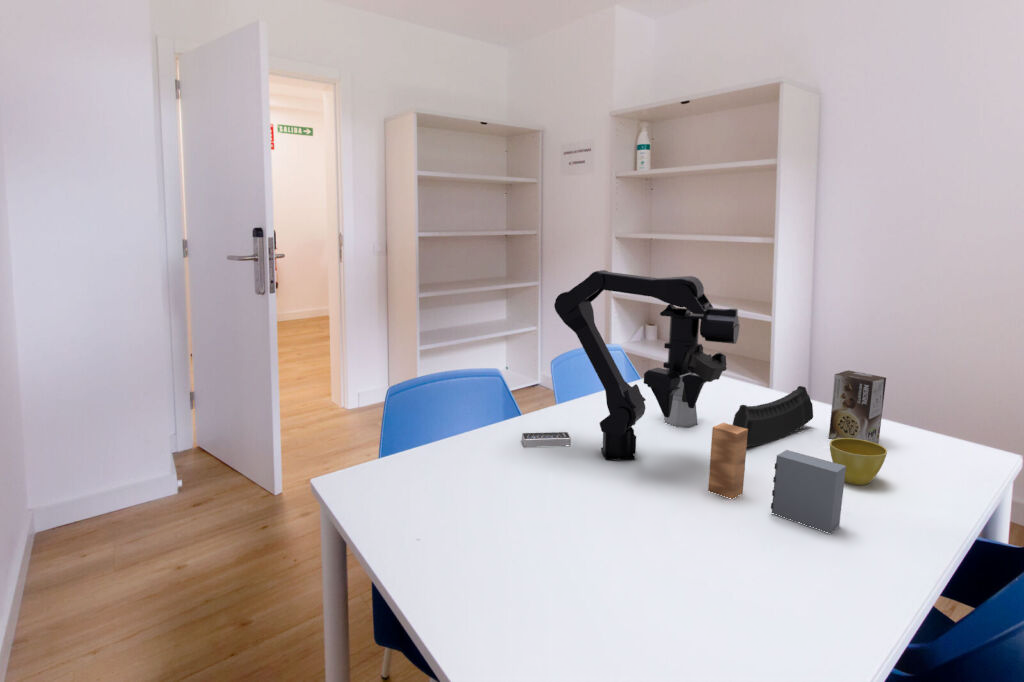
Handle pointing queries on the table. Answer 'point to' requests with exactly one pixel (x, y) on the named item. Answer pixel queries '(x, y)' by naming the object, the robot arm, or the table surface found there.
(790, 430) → the magazine
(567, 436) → the multiport hub
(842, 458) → the yellow bowl
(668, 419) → the coffee maker
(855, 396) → the coffee box
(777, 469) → the grey flat block
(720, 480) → the wooden post
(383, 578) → the table surface
